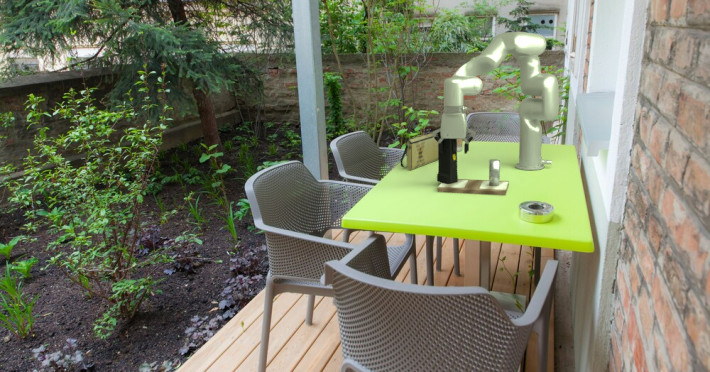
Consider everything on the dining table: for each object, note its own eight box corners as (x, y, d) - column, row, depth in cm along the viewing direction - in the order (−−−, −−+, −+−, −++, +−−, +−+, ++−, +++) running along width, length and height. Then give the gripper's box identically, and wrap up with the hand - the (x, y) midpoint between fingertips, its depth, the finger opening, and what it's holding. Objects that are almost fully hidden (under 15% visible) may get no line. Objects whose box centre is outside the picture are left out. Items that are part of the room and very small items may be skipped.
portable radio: (460, 182, 203) (461, 121, 197) (449, 185, 200) (449, 123, 194) (447, 178, 210) (447, 119, 203) (436, 181, 207) (436, 121, 200)
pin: (499, 183, 198) (500, 159, 195) (498, 186, 194) (499, 161, 192) (489, 183, 199) (489, 159, 197) (488, 186, 196) (488, 161, 193)
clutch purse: (429, 159, 258) (429, 130, 254) (441, 160, 254) (441, 131, 250) (396, 170, 236) (395, 139, 232) (409, 172, 232) (408, 140, 228)
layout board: (508, 184, 203) (508, 180, 202) (505, 195, 188) (505, 191, 188) (445, 181, 212) (445, 177, 211) (437, 191, 198) (437, 187, 197)
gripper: (477, 108, 195) (476, 151, 200) (433, 109, 201) (434, 150, 206) (474, 111, 188) (474, 155, 193) (429, 111, 195) (430, 154, 199)
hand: (453, 152), depth 199 cm, fingers open, 9 cm apart
